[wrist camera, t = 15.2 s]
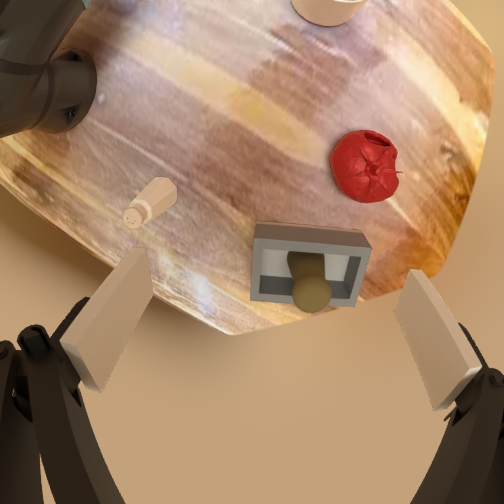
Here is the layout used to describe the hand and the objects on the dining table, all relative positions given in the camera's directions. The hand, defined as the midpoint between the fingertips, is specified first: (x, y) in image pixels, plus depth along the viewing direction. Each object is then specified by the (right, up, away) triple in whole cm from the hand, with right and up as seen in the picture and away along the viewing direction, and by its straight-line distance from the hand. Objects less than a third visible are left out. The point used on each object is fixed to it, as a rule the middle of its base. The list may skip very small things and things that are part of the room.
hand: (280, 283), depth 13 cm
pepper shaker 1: (-15, +11, +28) cm, 34 cm away
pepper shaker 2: (+7, +1, +31) cm, 32 cm away
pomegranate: (+14, +15, +24) cm, 31 cm away
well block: (+7, +1, +32) cm, 32 cm away
